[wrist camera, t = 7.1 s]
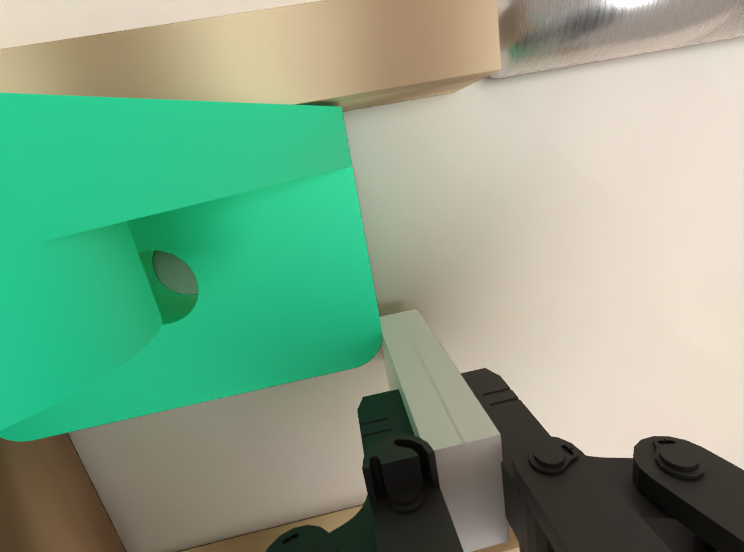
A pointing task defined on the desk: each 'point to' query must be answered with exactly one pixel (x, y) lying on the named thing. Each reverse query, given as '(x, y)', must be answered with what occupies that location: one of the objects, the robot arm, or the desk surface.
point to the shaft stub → (605, 29)
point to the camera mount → (180, 238)
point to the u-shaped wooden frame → (245, 85)
